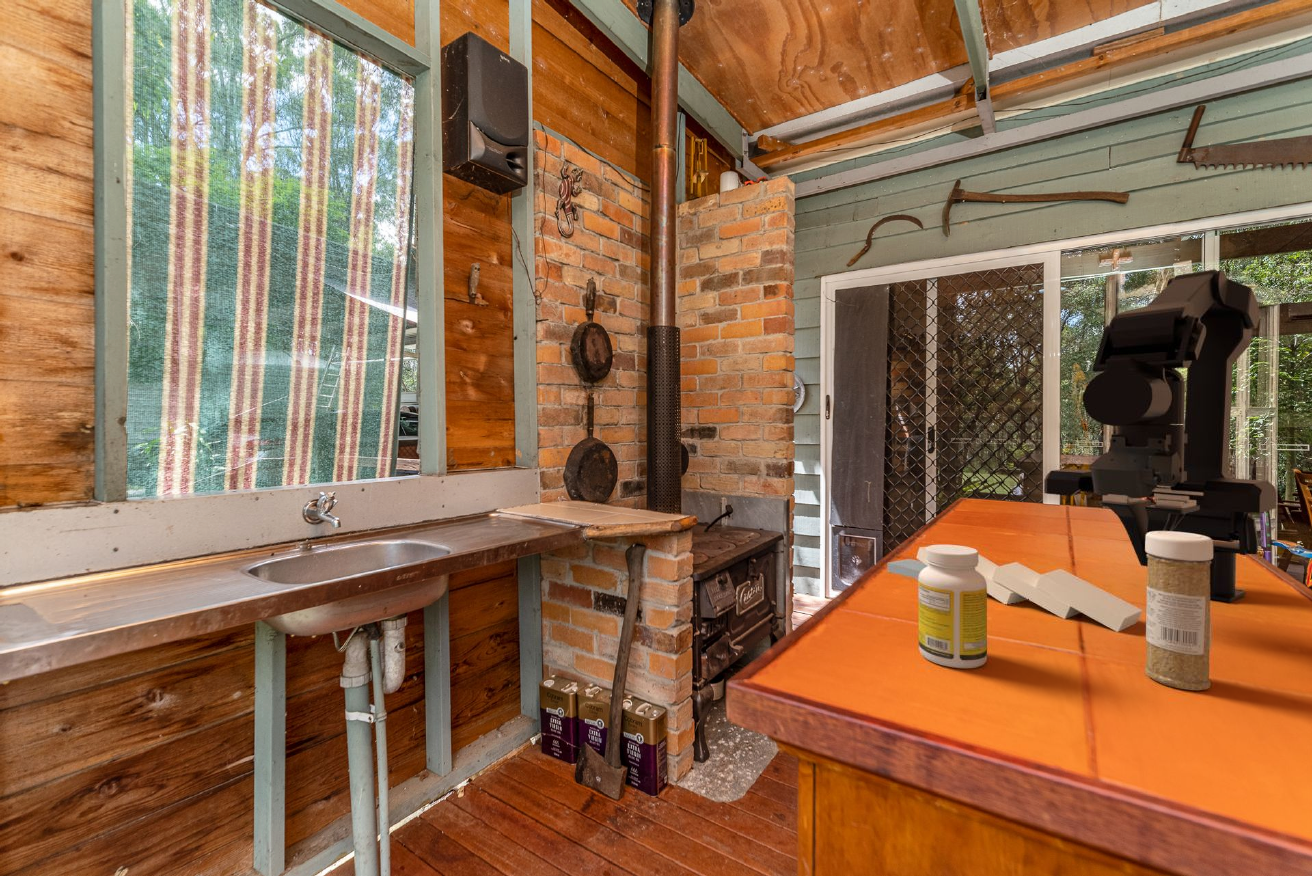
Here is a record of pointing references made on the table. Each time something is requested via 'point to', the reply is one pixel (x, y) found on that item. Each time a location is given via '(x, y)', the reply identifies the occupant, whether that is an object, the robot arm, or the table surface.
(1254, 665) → the table surface
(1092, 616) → the domino
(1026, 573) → the domino
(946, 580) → the pill bottle
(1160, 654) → the spice jar
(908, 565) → the domino
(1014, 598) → the domino
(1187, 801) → the table surface
